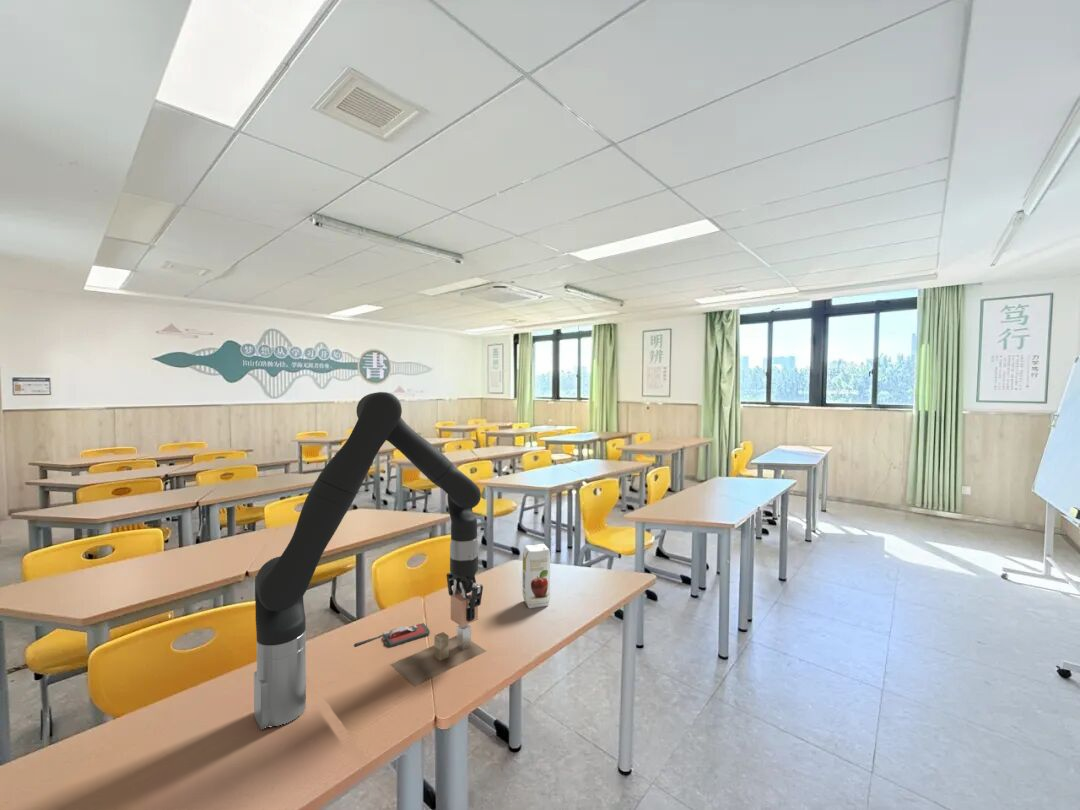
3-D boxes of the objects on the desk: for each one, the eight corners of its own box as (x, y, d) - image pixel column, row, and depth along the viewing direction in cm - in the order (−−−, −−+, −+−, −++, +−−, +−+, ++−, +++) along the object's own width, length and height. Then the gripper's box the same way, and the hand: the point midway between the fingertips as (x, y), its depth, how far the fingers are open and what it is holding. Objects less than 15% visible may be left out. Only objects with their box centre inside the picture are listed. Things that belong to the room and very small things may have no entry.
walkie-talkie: (423, 627, 134) (353, 648, 123) (423, 613, 134) (353, 632, 123) (434, 640, 127) (360, 664, 116) (434, 625, 127) (360, 647, 116)
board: (414, 692, 104) (414, 663, 104) (390, 670, 112) (390, 642, 112) (486, 656, 119) (486, 630, 119) (460, 639, 127) (460, 614, 127)
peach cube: (461, 626, 117) (461, 601, 117) (450, 619, 121) (450, 595, 121) (477, 619, 121) (477, 595, 121) (466, 613, 124) (466, 589, 124)
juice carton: (520, 600, 152) (521, 544, 152) (544, 596, 155) (545, 542, 154) (526, 610, 145) (527, 551, 144) (552, 606, 147) (552, 549, 147)
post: (462, 650, 119) (462, 629, 119) (457, 646, 121) (457, 626, 121) (470, 646, 121) (470, 626, 121) (465, 642, 123) (465, 622, 123)
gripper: (437, 551, 123) (437, 612, 123) (468, 565, 113) (468, 631, 113) (460, 544, 128) (460, 603, 128) (491, 557, 118) (491, 621, 118)
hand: (464, 616), depth 121 cm, fingers closed on peach cube, 5 cm apart
